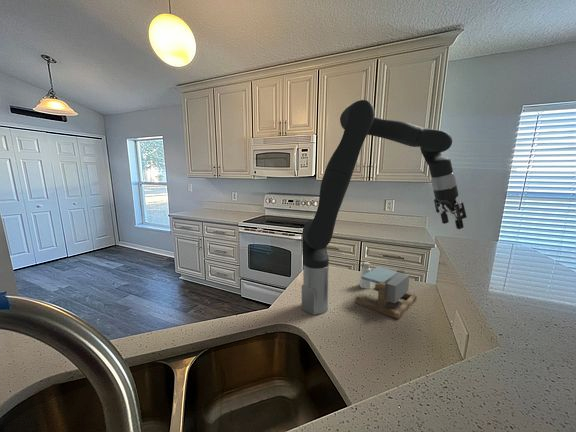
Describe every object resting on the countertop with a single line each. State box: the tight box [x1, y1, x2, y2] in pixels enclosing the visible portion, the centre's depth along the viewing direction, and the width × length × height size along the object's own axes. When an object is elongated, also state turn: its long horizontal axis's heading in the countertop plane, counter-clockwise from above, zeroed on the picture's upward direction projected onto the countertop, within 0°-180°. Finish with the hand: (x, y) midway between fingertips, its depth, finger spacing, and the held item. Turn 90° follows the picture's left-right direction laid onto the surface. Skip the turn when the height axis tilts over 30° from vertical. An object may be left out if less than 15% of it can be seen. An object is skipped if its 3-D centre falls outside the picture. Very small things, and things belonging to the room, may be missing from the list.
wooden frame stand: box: [355, 268, 418, 320], centre depth 96 cm, size 19×16×11 cm
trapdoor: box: [362, 266, 410, 304], centre depth 96 cm, size 14×13×7 cm
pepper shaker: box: [359, 261, 373, 290], centre depth 109 cm, size 5×5×11 cm
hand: (452, 225), depth 95 cm, fingers open, 8 cm apart
